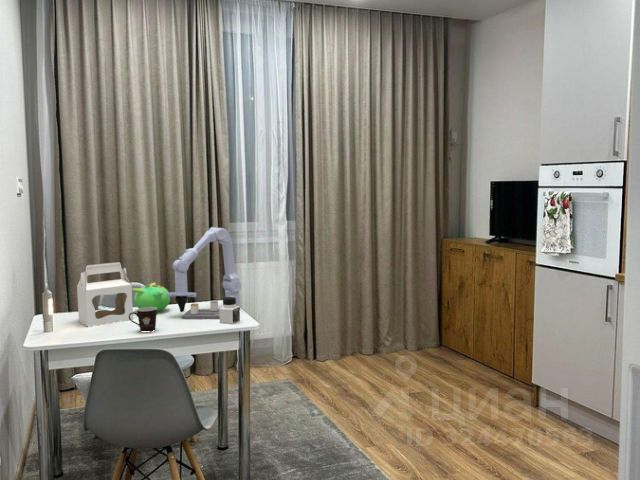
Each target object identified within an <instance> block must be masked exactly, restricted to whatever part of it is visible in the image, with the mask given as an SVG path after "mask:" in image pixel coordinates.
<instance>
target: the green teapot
mask: <svg viewBox="0 0 640 480" xmlns="http://www.w3.org/2000/svg"><path fill="white" fill-rule="evenodd" d="M132 292H135V293H134V295H133V301H134V305H135V307H136V308H137V309H139V308H143V307H156V308H157V312H160V311H163V310H164V309H166V308H168V306H169V304H170V302H171V297H167V294H166V293H170V292H169V290H168V289H167V288H165V287H164V286H162V285H158V284H156V282H152V283H150V284H148V285H145V286H144V285H143V286H141V287H140V288H136V287H135V288H134V287H132Z"/></svg>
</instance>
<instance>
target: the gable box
mask: <svg viewBox="0 0 640 480" xmlns="http://www.w3.org/2000/svg"><path fill="white" fill-rule="evenodd" d="M84 270H85V271H82V272H80V277H79V281H78V284H77V285H76V293H77V308H78V309H77V310H78V312H77V313H78V322H79V323H80V322H81V323H80V324H82V323H83V324H82V325H84V324H85V325H86V327H87V326H91V327H94V326H93V325H97V326H101V325H100V324H103V325H107V324H106V323H109V324H114V323H113V322H115V323H120V321H121V322H125V321H131V320H132V321H134V314H131V315H130V319H131V320H130V319H129V314H130V313H132V312H134V309H133V308H134V307H133V290H132V289H133V285H132V283H131V281H130V278H129V277H128V274H127V268H126V267H124V268H123V267H122V264H121V262H119V261H117V262H108V263H107V262H105V263H98V264H96V263H95V264H86V266H85V269H84ZM118 272H119V274H120V278H118V279H117V278H116V279H108V280H102V281H101V280H100V281H92V282H88V276H91V275H100V274H109V273H118ZM103 295H104V296H105V295H106V296H107V295H109V296H112V295H113V296H114V295H116V297H115V300H114V305H115V308H114V309H112V310H109V309H100V310H97V311H96V309H95V306H94V304H93V299H94V298H95V297H98V296H103ZM85 325H84V326H85Z"/></svg>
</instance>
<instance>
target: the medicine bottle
mask: <svg viewBox="0 0 640 480" xmlns="http://www.w3.org/2000/svg"><path fill="white" fill-rule="evenodd" d="M222 305H223V306H222V307H220V308H219V309H220V319H219V323H220V324H227V323H232V324H231V325H234V324H235V323H239V322H240V320H241V315H240V314H241V312H240V309H241V308H240V307H239V306H236V298H235V297H232V296H228V297H225V296H224V297H223V298H222ZM233 323H234V324H233Z"/></svg>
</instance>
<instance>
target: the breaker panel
mask: <svg viewBox="0 0 640 480" xmlns="http://www.w3.org/2000/svg"><path fill="white" fill-rule="evenodd" d="M198 309H199V313H198V314H191V308H190V309H189V310H188V311H186V312H185V313H183V314H182V315H181V320H220V308H218V310H217V311H211V308H208V309H207V308H198Z"/></svg>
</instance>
